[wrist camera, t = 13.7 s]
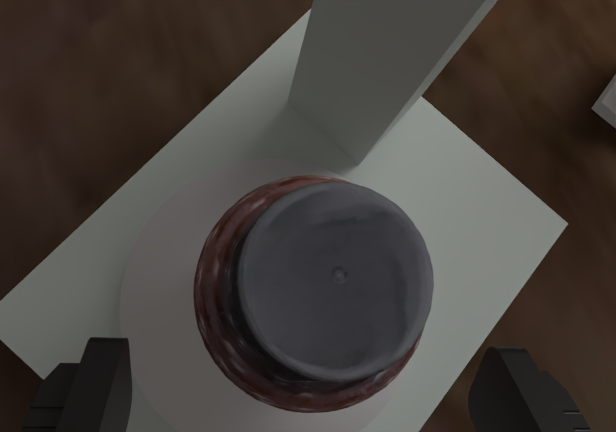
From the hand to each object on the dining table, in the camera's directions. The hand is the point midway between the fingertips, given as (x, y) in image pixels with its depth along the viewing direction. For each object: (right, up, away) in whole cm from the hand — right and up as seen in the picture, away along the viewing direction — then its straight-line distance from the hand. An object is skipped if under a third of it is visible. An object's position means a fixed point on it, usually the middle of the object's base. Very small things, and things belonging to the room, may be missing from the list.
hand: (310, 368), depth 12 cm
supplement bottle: (-1, 0, +9) cm, 10 cm away
